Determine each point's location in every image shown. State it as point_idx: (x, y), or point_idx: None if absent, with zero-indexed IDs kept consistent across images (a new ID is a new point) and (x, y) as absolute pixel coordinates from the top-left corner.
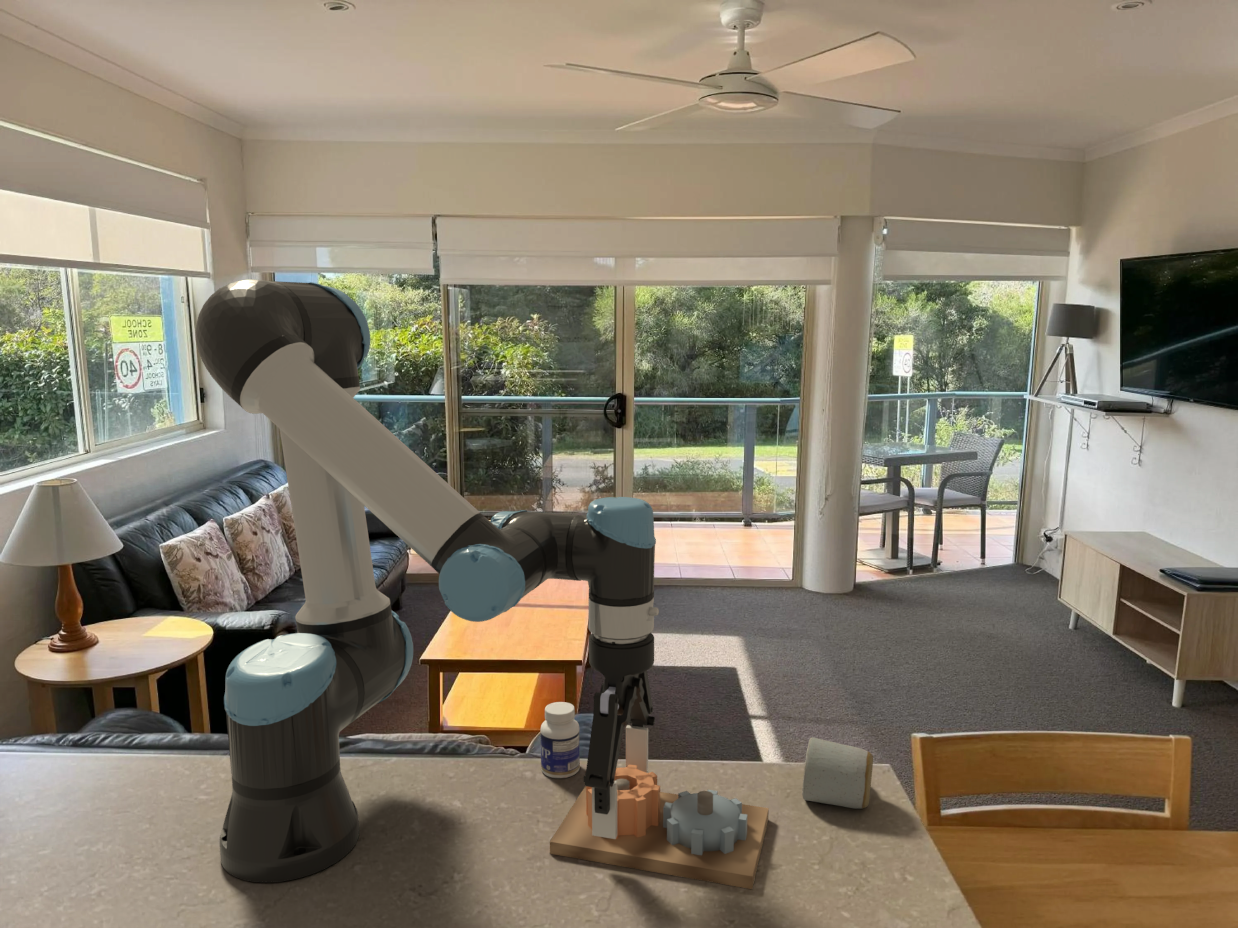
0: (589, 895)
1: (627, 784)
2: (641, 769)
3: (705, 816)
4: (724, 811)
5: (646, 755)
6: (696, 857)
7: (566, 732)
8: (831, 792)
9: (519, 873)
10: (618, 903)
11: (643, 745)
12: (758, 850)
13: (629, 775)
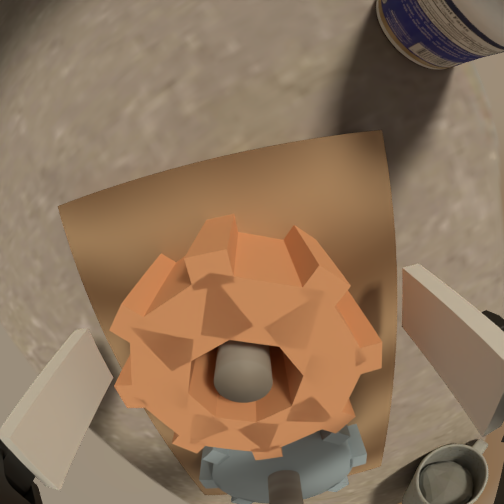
0: (43, 331)
1: (239, 401)
2: (414, 328)
3: (265, 481)
4: None
5: (437, 369)
6: (197, 455)
7: (479, 8)
8: (407, 499)
9: (9, 190)
10: None
11: (455, 384)
12: None
13: (303, 382)
